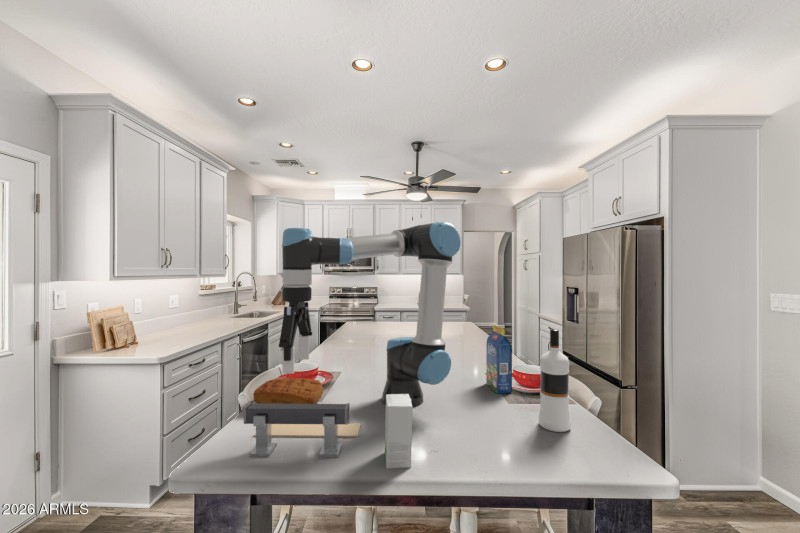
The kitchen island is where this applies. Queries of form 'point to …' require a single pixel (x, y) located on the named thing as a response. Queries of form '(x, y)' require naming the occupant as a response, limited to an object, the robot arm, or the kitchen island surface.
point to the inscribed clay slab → (289, 391)
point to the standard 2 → (330, 438)
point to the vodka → (554, 388)
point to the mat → (311, 430)
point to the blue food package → (499, 361)
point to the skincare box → (398, 431)
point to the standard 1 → (262, 438)
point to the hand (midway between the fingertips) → (296, 365)
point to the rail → (297, 413)
